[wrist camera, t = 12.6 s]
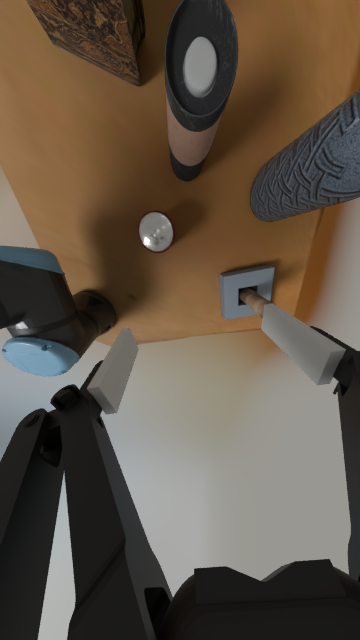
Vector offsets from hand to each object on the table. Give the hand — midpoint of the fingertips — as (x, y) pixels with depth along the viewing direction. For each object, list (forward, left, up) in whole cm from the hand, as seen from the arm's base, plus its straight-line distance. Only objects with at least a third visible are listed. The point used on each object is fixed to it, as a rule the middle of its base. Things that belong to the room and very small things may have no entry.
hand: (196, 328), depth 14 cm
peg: (+18, -10, -33) cm, 39 cm away
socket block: (+18, -10, -33) cm, 39 cm away
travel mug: (+5, +23, -33) cm, 40 cm away
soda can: (-4, +10, -33) cm, 35 cm away
